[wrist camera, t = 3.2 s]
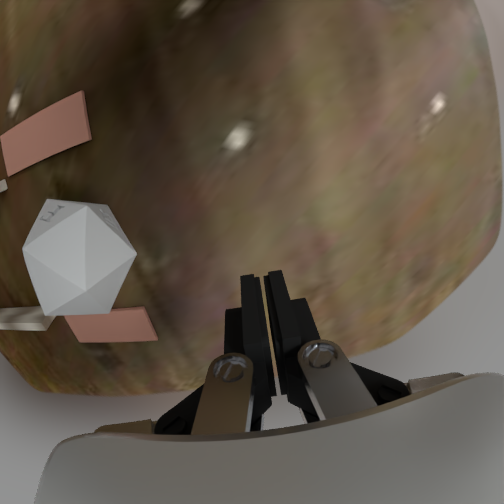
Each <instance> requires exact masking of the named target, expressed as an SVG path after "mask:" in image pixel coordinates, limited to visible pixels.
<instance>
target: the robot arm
mask: <svg viewBox="0 0 504 504" xmlns="http://www.w3.org/2000/svg"><path fill="white" fill-rule="evenodd" d="M240 280H241V304H242V307H241V308H233V309H226V311H225V338H224V355H221V356H219V357H217V358H216V359H214V361H213V362H212V363H211V364H210V366H209V368H208V372H207V376H206V379H205V383H204V384H203V385H202V386H200V387H199V388H198V389H197V390H195V391H194V392H193V393H192V394H190V395H189V396H188V397H186V398H185V399H184V400H182V401H181V402H180V403H178V404H177V405H176V406H175V407H173V408H172V409H170V410H169V411H168V412H167V413H165V414H164V415H162V416H161V417H160V418H159V420H158V421H152V420H151V419H148V420H143V421H136V422H128V423H121V424H112V425H105V426H101V427H99V428H98V429H96V430H95V432H94V433H88V434H82V435H77V436H73V437H70V438H67V439H65V440H63V441H61V442H60V443H58V444H57V445H56V446H55V448H54V449H53V450H52V452H51V454H50V456H49V458H48V460H47V462H46V464H45V467H44V470H43V472H42V475H41V478H40V482H39V485H38V489H37V493H36V497H35V501H34V504H504V375H502V374H499V373H488V372H487V373H476V374H470V375H466V376H465V375H463V374H461V373H458V372H457V373H456V372H454V373H448V374H442V375H437V376H431V377H424V378H419V379H411V380H409V381H408V383H403V382H401V381H399V380H397V379H394V378H391V377H388V376H386V375H383V374H380V373H377V372H375V371H372V370H369V369H366V368H364V367H361V366H359V365H356V364H353V363H351V362H349V360H348V359H347V357H346V356H345V354H344V353H343V351H342V350H341V348H340V347H339V346H338V345H337V344H335V343H334V342H332V341H328V340H321V339H320V336H319V333H318V330H317V328H316V325H315V322H314V320H313V317H312V314H311V311H310V309H309V306H308V303H307V301H306V299H305V298H300V299H294V300H290V297H289V294H288V290H287V287H286V284H285V280H284V277H283V274H282V271H281V270H277V271H271V272H268V276H264V284H265V292H266V299H267V307H268V314H269V322H270V329H271V336H272V342H273V348H274V354H275V360H276V366H277V372H278V378H279V383H280V390H281V395H285V394H287V398H288V402H290V403H291V404H293V405H295V406H297V407H299V410H300V414H301V416H302V419H303V421H304V423H305V424H302V425H297V426H291V427H284V428H278V429H270V430H263V426H264V412H265V411H266V410H267V409H268V408H269V407H270V406H271V405H272V401H271V397H272V396H277V395H276V388H275V380H274V373H273V365H272V358H271V351H270V344H269V337H268V331H267V324H266V317H265V311H264V304H263V298H262V291H261V285H260V278H259V277H254V274H250V275H243V276H240Z"/></svg>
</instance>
